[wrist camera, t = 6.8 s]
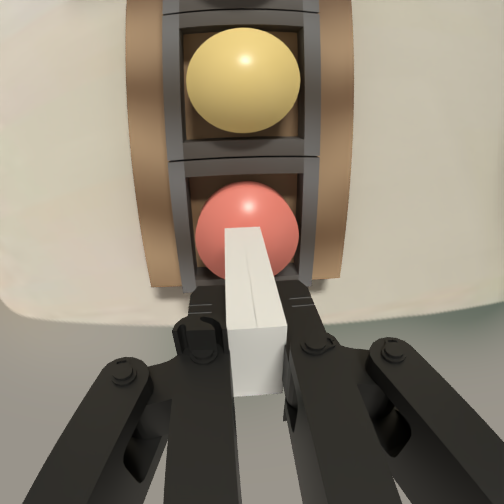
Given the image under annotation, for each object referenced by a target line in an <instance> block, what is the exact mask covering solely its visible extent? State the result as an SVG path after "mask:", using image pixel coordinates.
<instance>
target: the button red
mask: <svg viewBox="0 0 504 504" xmlns="http://www.w3.org/2000/svg"><path fill="white" fill-rule="evenodd" d="M241 227H260V229H261V233H262V236H263V240H264V243H265V247H266V250H267V254H268V258H269V261H270V265H271V268H272V272H273V275H274V276H275V275H276V274H278V273H279V272H280V271H282V270H283V269H284V268H285V267H286V266H287V265H288V263H289V262H290V261H291V259H292V258H293V256H294V254H295V251H296V249H297V245H298V239H299V230H298V225H297V221H296V218H295V216H294V214H293V212H292V211H291V209H290V207H289V205H288V204H287V202H286V201H285V199H284V198H283V197H282V196H281V195H280V194H279V193H278V192H277V191H276V190H274V189H273V188H271V187H270V186H267V185H265V184H262V183H259V182H254V181H238V182H234V183H230V184H228V185H225V186H223V187H221V188H220V189H218V190H217V191H215V192H214V193H213V194H212V195H211V196H210V197H209V198H208V199H207V201H206V202H205V204H204V205H203V207H202V209H201V212H200V215H199V219H198V223H197V227H196V233H195V242H196V248H197V251H198V254H199V256H200V258H201V260H202V261H203V263H204V264H205V265H206V266H207V268H208V269H209V270H211V271H212V272H213V273H214V274H216V275H217V276H219V277H221V278H223V279H225V228H241Z"/></svg>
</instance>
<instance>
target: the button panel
mask: <svg viewBox="0 0 504 504" xmlns="http://www.w3.org/2000/svg"><path fill="white" fill-rule="evenodd" d="M234 28H253V29H258V30H261V31H265V32H267V33H269V34H271V35H273V36H275V37H276V38H278V39H279V40H280V41H282V42H283V43H284V44H285V45H286V46H287V47H288V48H289V50H290V51H291V52H292V54H293V56H294V57H295V59H296V62H297V64H298V68H299V72H300V88H299V93H298V96H297V99H296V101H295V103H294V105H293V107H292V108H291V110H290V111H289V112H288V113H287V114H286V116H285V117H284V118H282V119H281V120H280V121H279V122H277V123H276V124H274V125H273V126H271V127H269V128H266V129H264V130H261V131H257V132H252V133H235V132H229V131H225V130H222V129H220V128H217V127H215V126H214V125H212V124H210V123H209V122H207V121H206V120H205V119H204V118H203V117H202V116H201V115H200V114H199V113H198V112H197V111H196V109H195V108H194V106H193V105H192V103H191V101H190V98H189V96H188V92H187V86H186V75H187V70H188V66H189V63H190V61H191V59H192V57H193V55H194V53H195V52H196V50H197V49H198V48H199V47H200V46H201V45H202V44H203V43H204V42H205V41H206V40H207V39H209V38H210V37H212V36H214V35H216V34H218V33H220V32H222V31H225V30H229V29H234ZM126 89H127V109H128V124H129V137H130V148H131V158H132V168H133V176H134V185H135V193H136V200H137V207H138V214H139V221H140V227H141V233H142V239H143V245H144V251H145V257H146V262H147V267H148V272H149V278H150V283H151V287H172V286H182V289H183V293H191V292H193V291H194V290H195V289H196V288H197V287H198V286H212V285H225V279H223V278H221V277H219V276H217V275H216V274H214V273H213V272H212V271H211V270H209V269H208V268H207V266H206V265H205V264H204V263H203V261H202V260H201V258H200V256H199V254H198V251H197V248H196V242H195V233H196V227H197V223H198V219H199V215H200V212H201V209H202V207H203V205H204V204H205V202H206V201H207V199H208V198H209V197H210V196H211V195H212V194H213V193H214V192H215V191H217V190H218V189H220V188H221V187H223V186H225V185H228V184H230V183H234V182H238V181H254V182H259V183H262V184H265V185H267V186H270V187H271V188H273V189H274V190H276V191H277V192H278V193H279V194H280V195H281V196H282V197H283V198H284V199H285V201H286V202H287V204H288V205H289V207H290V209H291V211H292V212H293V214H294V216H295V218H296V221H297V225H298V230H299V239H298V245H297V249H296V251H295V254H294V256H293V258H292V259H291V261H290V262H289V263H288V265H287V266H286V267H285V268H284V269H283V270H282V271H280V272H279V273H278V274H276V275H275V276H274V279H275V281H283V280H299V281H301V282H302V283H303V284H304V285H305V286H307V287H308V286H311V284H312V280H315V279H329V278H340V271H341V264H342V256H343V248H344V239H345V230H346V221H347V211H348V200H349V188H350V174H351V159H352V139H353V110H354V51H353V23H352V6H351V0H127V7H126Z"/></svg>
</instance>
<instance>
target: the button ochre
mask: <svg viewBox="0 0 504 504" xmlns="http://www.w3.org/2000/svg"><path fill="white" fill-rule="evenodd" d="M186 86H187V92H188V96H189V98H190V101H191V103H192V105H193V106H194V108H195V109H196V111H197V112H198V113H199V114H200V115H201V116H202V117H203V118H204V119H205V120H206V121H207V122H209V123H210V124H212V125H214V126H215V127H217V128H220V129H222V130H225V131H229V132H235V133H252V132H257V131H261V130H264V129H266V128H269V127H271V126H273V125H274V124H276V123H277V122H279V121H280V120H281V119H282V118H284V117H285V116H286V114H287V113H288V112H289V111H290V110H291V108H292V107H293V105H294V103H295V101H296V99H297V96H298V93H299V88H300V72H299V68H298V64H297V62H296V59H295V57H294V56H293V54H292V52H291V51H290V50H289V48H288V47H287V46H286V45H285V44H284V43H283V42H282V41H280V40H279V39H278V38H276V37H275V36H273V35H271V34H269V33H267V32H265V31H261V30H258V29H253V28H234V29H229V30H225V31H222V32H220V33H218V34H216V35H214V36H212V37H210V38H209V39H207V40H206V41H205V42H204V43H203V44H202V45H201V46H200V47H199V48H198V49H197V50H196V52H195V53H194V55H193V57H192V59H191V61H190V63H189V66H188V70H187V75H186Z"/></svg>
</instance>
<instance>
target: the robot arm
mask: <svg viewBox="0 0 504 504" xmlns="http://www.w3.org/2000/svg"><path fill="white" fill-rule="evenodd" d="M172 333H173V338H174V342H175V347H176V351H177V356H176V357H174V358H173V359H171V360H170V361H167V362H164V363H161V364H157V365H153V366H149V367H147V365H146V364H145V363H144V362H143V361H142V360H139V359H137V358H133V357H123V358H119V359H116V360H114V361H112V362H110V363H108V364H107V365H106V366H105V367H104V368H103V369H102V371H101V372H100V374H99V376H98V377H97V379H96V380H95V382H94V383H93V385H92V386H91V388H90V389H89V391H88V393H87V394H86V396H85V397H84V399H83V400H82V402H81V404H80V405H79V407H78V408H77V410H76V412H75V413H74V415H73V416H72V418H71V420H70V421H69V423H68V425H67V426H66V428H65V430H64V431H63V433H62V435H61V436H60V438H59V439H58V441H57V443H56V444H55V446H54V448H53V450H52V451H51V453H50V455H49V457H48V458H47V460H46V462H45V463H44V465H43V467H42V469H41V471H40V472H39V474H38V476H37V478H36V480H35V481H34V483H33V485H32V487H31V488H30V490H29V492H28V494H27V496H26V498H25V500H24V502H23V504H143V502H144V500H145V497H146V495H147V492H148V489H149V487H150V484H151V481H152V479H153V476H154V474H155V471H156V469H157V466H158V464H159V461H160V458H161V456H162V453H163V451H164V448H165V446H166V443H167V441H168V446H167V458H166V472H165V486H164V504H242V499H241V488H240V475H239V463H238V450H237V435H236V421H235V407H234V397H239V396H253V395H267V394H278V393H282V391H283V387H284V391H285V406H284V416H283V421H287V423H288V428H289V433H290V439H291V444H292V449H293V454H294V459H295V465H296V470H297V475H298V480H299V486H300V490H301V496H302V501H303V504H402V502H401V499H400V496H399V493H398V490H397V488H396V485H395V482H394V479H395V481H396V482H397V483H398V485H399V486H400V487H401V489H402V490H403V492H404V493H405V494H406V496H407V497H408V499H409V500H410V502H411V503H412V504H504V442H503V441H502V440H501V439H500V438H499V436H498V435H497V434H496V433H495V432H494V431H493V430H492V429H491V428H490V427H489V426H488V425H487V423H486V422H485V421H484V420H483V419H482V418H481V417H480V416H479V415H478V414H477V413H476V412H475V411H474V409H473V408H472V407H470V405H469V404H468V403H467V402H466V401H465V400H464V399H463V398H462V397H461V396H460V395H459V394H458V393H457V392H456V391H455V390H454V389H453V388H452V387H451V385H449V383H448V382H447V381H446V380H445V379H444V378H442V376H441V375H440V374H439V373H438V372H437V371H436V370H435V369H434V368H433V367H432V366H431V365H430V364H429V363H428V362H427V361H426V360H425V359H424V358H423V357H422V356H421V355H420V354H419V353H418V352H417V351H416V350H415V349H414V348H413V347H412V346H411V345H409V344H408V343H406V342H405V341H403V340H400V339H397V338H391V337H386V338H381V339H378V340H377V341H375V342H373V344H372V345H371V347H370V350H363V349H353V348H348V347H344V346H341V345H340V344H339V342H338V341H337V340H336V338H335V337H334V336H332V335H330V334H329V333H326V331H325V328H324V326H323V324H322V321H321V319H320V316H319V314H318V311H317V309H316V307H315V305H314V302H313V300H312V298H311V295H310V292H309V290H308V288H307V286H305V285H304V284H303V283H302V282H301V281H299V280H283V281H275V279H274V275H273V272H272V268H271V265H270V261H269V258H268V254H267V250H266V247H265V243H264V240H263V236H262V233H261V229H260V227H241V228H225V285H212V286H198V287H197V288H196V289H195V290H194V291H193V293H192V294H191V296H190V303H189V311H188V316H187V317H185V318H182V319H181V320H180V321H178V322H177V323H176V324H175V326H174V328H173V330H172ZM392 476H393V477H392ZM393 478H394V479H393Z"/></svg>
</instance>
